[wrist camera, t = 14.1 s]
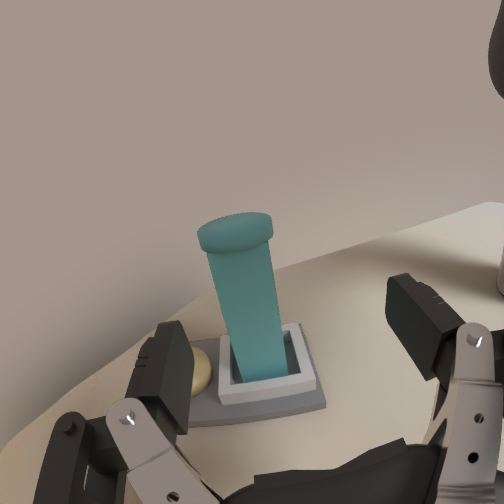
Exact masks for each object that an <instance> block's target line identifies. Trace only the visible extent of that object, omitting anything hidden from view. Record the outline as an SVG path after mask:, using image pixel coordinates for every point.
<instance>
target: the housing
mask: <svg viewBox="0 0 504 504" xmlns="http://www.w3.org/2000/svg"><path fill="white" fill-rule="evenodd" d="M281 328H282V334H283V341H284V348H285V355H286V362H287V369H288V376H284V377H279V378H273V379H267V380H261V381H255V382H249V383H243V380H242V377H241V374H240V370H239V367H238V364H237V361H236V357H235V354H234V351H233V347H232V344H231V341H230V337H229V334H226V335H220V338H214V339H206V340H199V341H191V342H189V343H190V346H191V348H192V351H193V354H194V360H195V366H194V374H193V383H192V391H191V401H190V410H189V420H188V427H205V426H218V425H229V424H239V423H247V422H254V421H261V420H268V419H274V418H280V417H285V416H291V415H296V414H301V413H306V412H310V411H314V410H319V409H323V408H326V400H325V396H324V393H323V390H322V387H321V384H320V381H319V378H318V375H317V372H316V369H315V366H314V363H313V359H312V356H311V353H310V350H309V347H308V344H307V341H306V338H305V335H304V332H303V329H302V326H301V324H300V323H299V324H298V322H294V323H289V324H284V325H281Z"/></svg>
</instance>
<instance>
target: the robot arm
mask: <svg viewBox="0 0 504 504" xmlns="http://www.w3.org/2000/svg"><path fill="white" fill-rule="evenodd" d="M488 64H489V72H490V76H491V80H492V83H493V85H494V87H495V89H496V90H497V92H498V94H499V95H500V96H501V97H502V98H503V99H504V0H502V2H501V6H500V10H499V13H498V16H497V19H496V22H495V25H494V28H493V32H492V35H491V38H490V43H489V51H488ZM496 283H497V287H498V289H499V291H500V292H501V293H502V294H503V295H504V248H503V254H502V259H501V264H500V268H499V273H498V277H497V282H496ZM385 314H386V319H387V322H388V324H389V325H390V327H391V328H392V330H393V331H394V333H395V334H396V336H397V337H398V339H399V340H400V342H401V343H402V345H403V346H404V348H405V349H406V351H407V352H408V354H409V355H410V357H411V358H412V360H413V361H414V363H415V365H416V366H417V368H418V369H419V371H420V372H421V374H422V376H423V377H424V379H425V380H426V381H428V380H430V379H433V378H435V377H437V378H438V380H439V382H438V384H437V389H436V394H435V400H434V405H433V409H432V414H431V418H430V423H429V426H428V430H427V432H426V434H425V437H424V439H423V442H422V444H409V445H406V443H405V441H404V439H403V437H402V438H400V439H398V440H395V441H393V442H390V443H387V444H385V445H382V446H379V447H376V448H374V449H371V450H368V451H367V452H365V453H363V454H362V455H360V456H358V457H356V458H355V459H353V460H351V461H349V462H347V463H346V464H344V465H342V466H340V467H338V468H336V469H331V470H288V471H282V472H276V473H269V474H261V475H254V484H251V485H248V486H246V487H244V488H241V489H239V490H238V491H236V492H234V493H232V494H231V495H230V496H228V497H227V498H225V499H224V498H223V497H222V496H221V495H220V494H219V493H218V492H217V491H216V490H215V489H214V488H213V487H212V486H211V485H210V484H209V483H208V482H207V480H206V479H205V478H204V477H203V476H202V475H201V474H200V473H199V472H198V470H197V469H196V468H195V467H194V466H193V464H192V463H191V462H190V461H189V460H188V458H187V457H186V456H185V455H184V454H183V452H182V451H181V450H180V448H179V447H178V446H177V445H176V435H187V431H188V420H189V410H190V401H191V391H192V383H193V374H194V366H195V360H194V354H193V351H192V348H191V346H190V343H189V341H188V339H187V336H186V334H185V332H184V329H183V327H182V325H181V323H180V321H178V320H177V321H170V322H163V323H159V324H158V327H157V330H156V333H155V336H154V337H149V338H148V339H147V341H146V342H145V343H144V344H143V345H142V347H141V349H140V352H139V355H138V359H137V361H136V364H135V368H134V370H133V373H132V376H131V379H130V382H129V385H128V389H127V392H126V395H125V398H124V399H121V400H119V401H117V402H115V403H114V404H113V405H112V406H111V407H110V408H109V410H108V412H107V415H106V416H103V417H99V418H95V419H91V420H86V419H85V418H84V417H83V416H82V415H81V414H80V413H78V412H68V413H66V414H64V415H62V416H61V417H60V418H59V419H58V420H57V422H56V423H55V426H54V428H53V431H52V434H51V437H50V441H49V444H48V447H47V450H46V453H45V457H44V460H43V464H42V467H41V471H40V475H39V479H38V483H37V487H36V491H35V496H34V501H33V504H124V493H125V483H126V475H127V477H128V480H129V481H130V483H131V485H132V487H133V488H134V490H135V492H136V493H137V495H138V497H139V498H140V500H141V501H142V503H143V504H504V472H502V471H499V470H497V464H498V458H499V450H500V442H501V432H502V417H503V418H504V329H503V330H497V331H491V332H490V331H489V330H488V329H487V328H486V327H485V326H483V325H481V324H478V323H472V322H471V323H466V322H465V321H464V320H463V319H462V318H461V317H460V316H459V315H458V314H457V313H456V312H455V311H454V310H453V309H452V308H451V307H450V306H449V305H448V304H447V303H446V302H445V301H444V300H443V299H442V298H441V297H440V296H439V295H438V294H437V293H436V292H435V291H434V290H433V289H432V288H431V287H430V286H428V285H426V284H424V283H422V282H417V281H416V280H415V279H413V278H412V277H411V276H410V275H409V274H408V273H403V274H400V275H396V276H392V277H389V279H388V282H387V294H386V306H385ZM87 465H88V466H89V469H88V474H87V480H86V485H85V491H84V488H83V485H84V479H85V474H86V469H87ZM127 470H130V471H128V472H127Z"/></svg>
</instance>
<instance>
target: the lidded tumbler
mask: <svg viewBox="0 0 504 504" xmlns="http://www.w3.org/2000/svg"><path fill="white" fill-rule="evenodd" d="M197 235H198V238H199V242H200V246H201V249H202V250H203V251H205V252H207V257H208V261H209V265H210V269H211V273H212V277H213V280H214V284H215V288H216V291H217V295H218V299H219V302H220V306H221V309H222V313H223V317H224V320H225V324H226V327H227V330H228V334H229V337H230V341H231V344H232V347H233V351H234V354H235V357H236V361H237V364H238V367H239V370H240V374H241V377H242V380H243V383H249V382H255V381H261V380H267V379H273V378H279V377H284V376H288V369H287V362H286V355H285V348H284V341H283V334H282V328H281V321H280V314H279V308H278V301H277V295H276V288H275V282H274V275H273V269H272V263H271V257H270V250H269V244H268V240H269V239H270V238H271V237H272V236H273V227H272V220H271V217H270V216H269V215H267V214H263V213H255V212H253V213H252V212H251V213H240V214H233V215H229V216H225V217H221V218H218V219H215V220H213V221H211V222H208V223H206V224H205V225H203V226H202V227H201V228H199V230H198V231H197Z"/></svg>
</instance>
